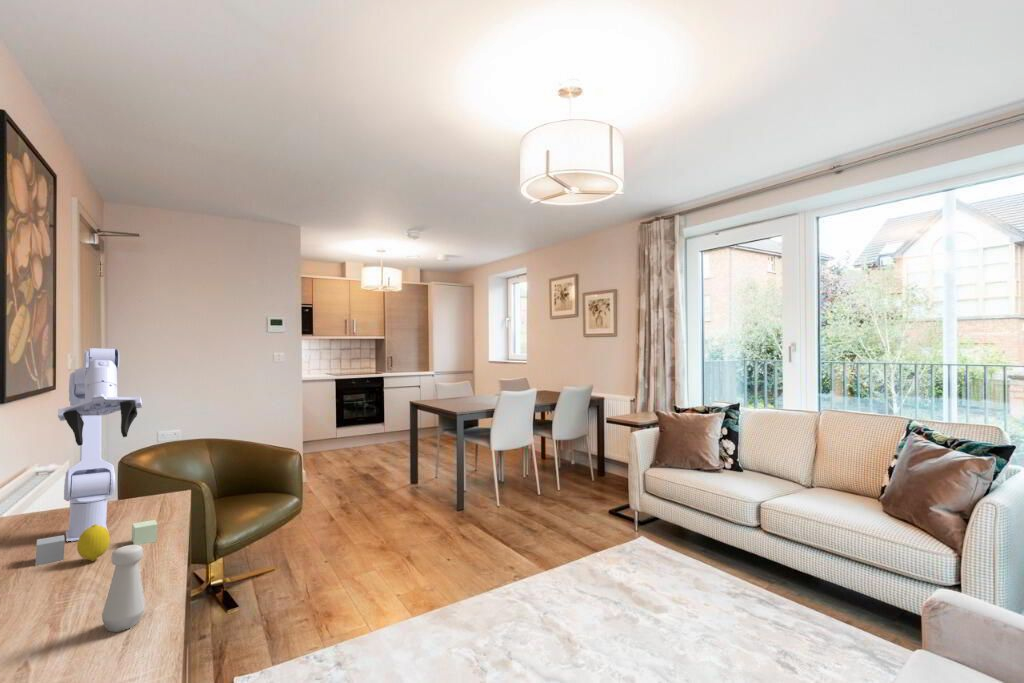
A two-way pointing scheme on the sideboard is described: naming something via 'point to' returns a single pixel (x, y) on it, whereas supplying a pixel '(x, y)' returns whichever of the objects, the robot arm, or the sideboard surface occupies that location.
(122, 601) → the salt shaker
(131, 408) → the robot arm
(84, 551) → the lemon
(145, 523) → the sage block
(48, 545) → the slate block
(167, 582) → the sideboard surface
